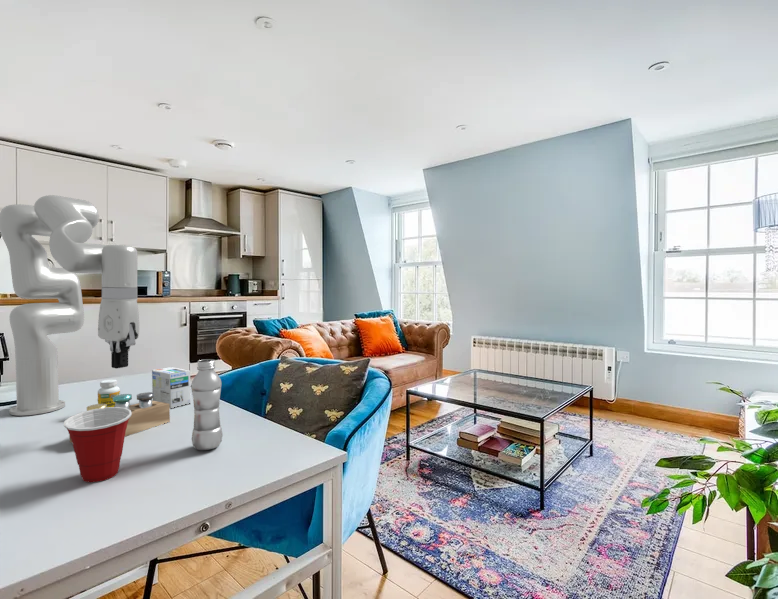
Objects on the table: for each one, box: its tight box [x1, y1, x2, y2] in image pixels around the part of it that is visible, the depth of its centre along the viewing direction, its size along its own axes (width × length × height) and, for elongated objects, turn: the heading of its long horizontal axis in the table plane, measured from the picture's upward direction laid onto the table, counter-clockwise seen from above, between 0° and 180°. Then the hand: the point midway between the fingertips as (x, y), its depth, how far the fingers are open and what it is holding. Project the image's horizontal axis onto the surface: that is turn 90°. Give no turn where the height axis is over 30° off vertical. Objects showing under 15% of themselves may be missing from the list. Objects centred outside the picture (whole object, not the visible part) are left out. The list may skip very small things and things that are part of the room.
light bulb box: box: [151, 366, 192, 409], centre depth 129 cm, size 11×7×11 cm, turn 58°
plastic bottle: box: [190, 358, 224, 451], centre depth 94 cm, size 6×7×20 cm
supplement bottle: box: [97, 379, 121, 407], centre depth 119 cm, size 5×5×10 cm
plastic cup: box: [63, 407, 132, 483], centre depth 80 cm, size 11×11×12 cm
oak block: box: [68, 399, 171, 444], centre depth 105 cm, size 8×20×5 cm, turn 154°
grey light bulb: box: [136, 391, 154, 409], centre depth 110 cm, size 4×4×8 cm
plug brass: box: [86, 403, 107, 411], centre depth 99 cm, size 4×4×8 cm
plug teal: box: [113, 393, 133, 410], centre depth 105 cm, size 4×4×8 cm
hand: (119, 367), depth 104 cm, fingers closed
